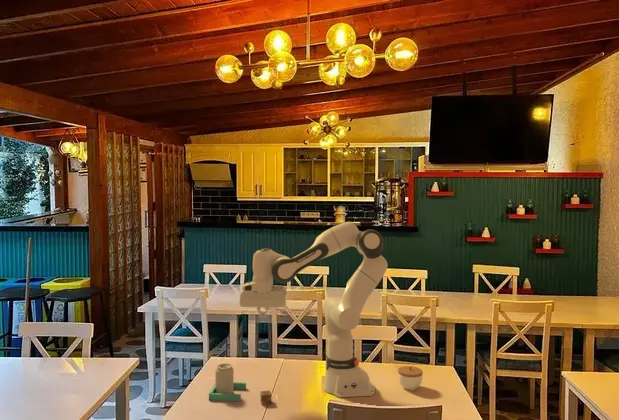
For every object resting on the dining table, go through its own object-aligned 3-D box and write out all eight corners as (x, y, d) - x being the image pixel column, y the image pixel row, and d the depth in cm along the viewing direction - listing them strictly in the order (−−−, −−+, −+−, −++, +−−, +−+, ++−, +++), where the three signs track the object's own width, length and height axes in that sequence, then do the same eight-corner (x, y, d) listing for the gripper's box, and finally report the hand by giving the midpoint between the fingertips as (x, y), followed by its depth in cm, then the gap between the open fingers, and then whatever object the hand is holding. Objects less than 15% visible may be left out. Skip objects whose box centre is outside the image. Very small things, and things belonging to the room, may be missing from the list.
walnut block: (270, 400, 207) (270, 390, 207) (271, 404, 203) (271, 394, 203) (260, 400, 206) (260, 391, 206) (261, 405, 202) (261, 395, 202)
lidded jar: (406, 380, 229) (407, 360, 229) (427, 387, 221) (427, 366, 221) (392, 387, 221) (393, 366, 221) (413, 394, 214) (413, 373, 213)
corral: (246, 388, 218) (246, 382, 218) (240, 401, 205) (240, 395, 205) (216, 387, 219) (216, 381, 219) (208, 400, 206) (208, 394, 206)
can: (227, 388, 218) (227, 361, 217) (236, 393, 212) (237, 365, 212) (212, 393, 213) (212, 365, 212) (221, 398, 207) (221, 370, 206)
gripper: (287, 284, 222) (287, 315, 223) (241, 283, 223) (241, 314, 224) (285, 287, 216) (285, 319, 217) (238, 286, 217) (238, 318, 218)
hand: (262, 316), depth 221 cm, fingers closed
